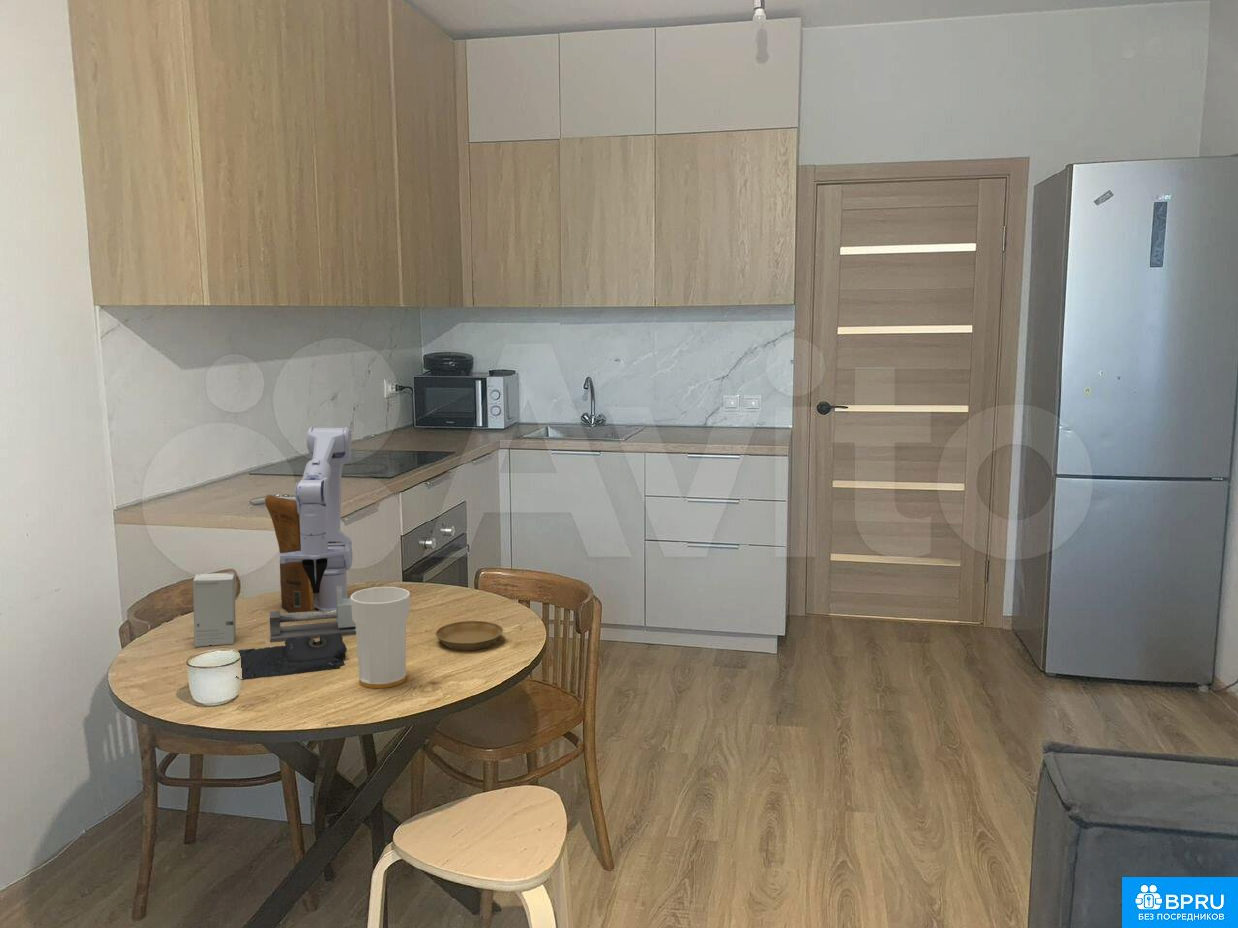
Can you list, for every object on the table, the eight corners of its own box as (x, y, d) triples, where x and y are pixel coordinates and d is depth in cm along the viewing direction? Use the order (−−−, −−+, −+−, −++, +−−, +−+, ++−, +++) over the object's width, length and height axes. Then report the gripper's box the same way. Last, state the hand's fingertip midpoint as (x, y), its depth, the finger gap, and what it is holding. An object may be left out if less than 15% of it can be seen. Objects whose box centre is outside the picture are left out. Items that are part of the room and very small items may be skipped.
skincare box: (194, 647, 206) (190, 580, 204) (197, 638, 212) (193, 573, 209) (236, 644, 208) (232, 577, 206) (238, 635, 214) (234, 570, 212)
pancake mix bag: (294, 622, 223) (289, 504, 218) (268, 602, 238) (262, 492, 233) (322, 617, 227) (318, 501, 223) (294, 598, 242) (290, 489, 237)
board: (270, 642, 210) (270, 638, 210) (271, 630, 217) (271, 626, 217) (391, 631, 218) (391, 627, 218) (388, 620, 225) (388, 616, 225)
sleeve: (338, 627, 215) (336, 591, 214) (337, 620, 220) (336, 585, 219) (356, 626, 216) (355, 590, 215) (355, 619, 221) (354, 584, 220)
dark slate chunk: (233, 658, 201) (232, 636, 201) (342, 645, 209) (341, 624, 209) (233, 684, 187) (232, 661, 187) (350, 670, 195) (349, 647, 195)
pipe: (270, 639, 211) (269, 617, 210) (271, 632, 216) (270, 611, 215) (391, 628, 219) (390, 607, 218) (389, 622, 224) (388, 601, 223)
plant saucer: (472, 659, 202) (472, 647, 201) (421, 645, 209) (421, 633, 209) (516, 639, 214) (516, 628, 213) (466, 627, 222) (466, 616, 221)
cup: (388, 664, 197) (386, 583, 194) (423, 678, 190) (422, 593, 187) (341, 680, 188) (338, 595, 186) (376, 695, 181) (374, 606, 179)
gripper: (278, 538, 207) (281, 599, 209) (348, 534, 212) (350, 594, 214) (279, 531, 214) (282, 590, 216) (346, 527, 218) (348, 585, 220)
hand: (316, 591), depth 215 cm, fingers closed
